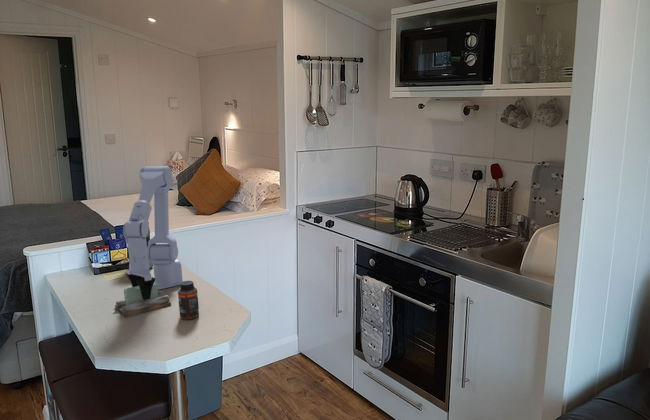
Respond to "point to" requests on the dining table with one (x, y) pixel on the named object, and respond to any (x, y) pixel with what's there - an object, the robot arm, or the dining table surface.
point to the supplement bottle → (188, 300)
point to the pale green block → (138, 294)
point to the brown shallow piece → (142, 305)
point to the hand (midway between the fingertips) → (142, 296)
